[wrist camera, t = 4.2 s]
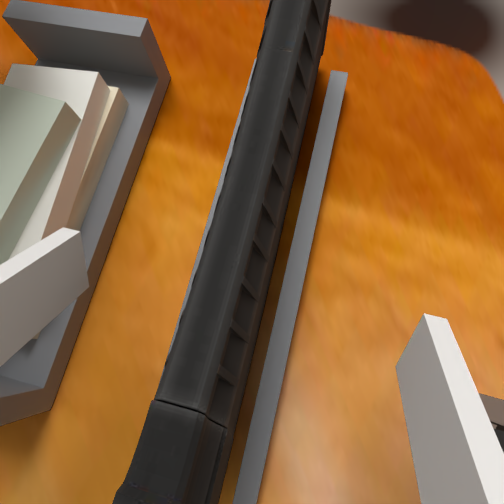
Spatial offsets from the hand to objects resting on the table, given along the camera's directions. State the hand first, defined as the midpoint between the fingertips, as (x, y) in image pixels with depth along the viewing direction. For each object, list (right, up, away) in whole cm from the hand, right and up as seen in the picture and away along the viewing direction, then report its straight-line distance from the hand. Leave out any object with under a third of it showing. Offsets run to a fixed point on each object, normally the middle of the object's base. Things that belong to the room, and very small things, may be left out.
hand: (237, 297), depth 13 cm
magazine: (+1, +2, +10) cm, 10 cm away
